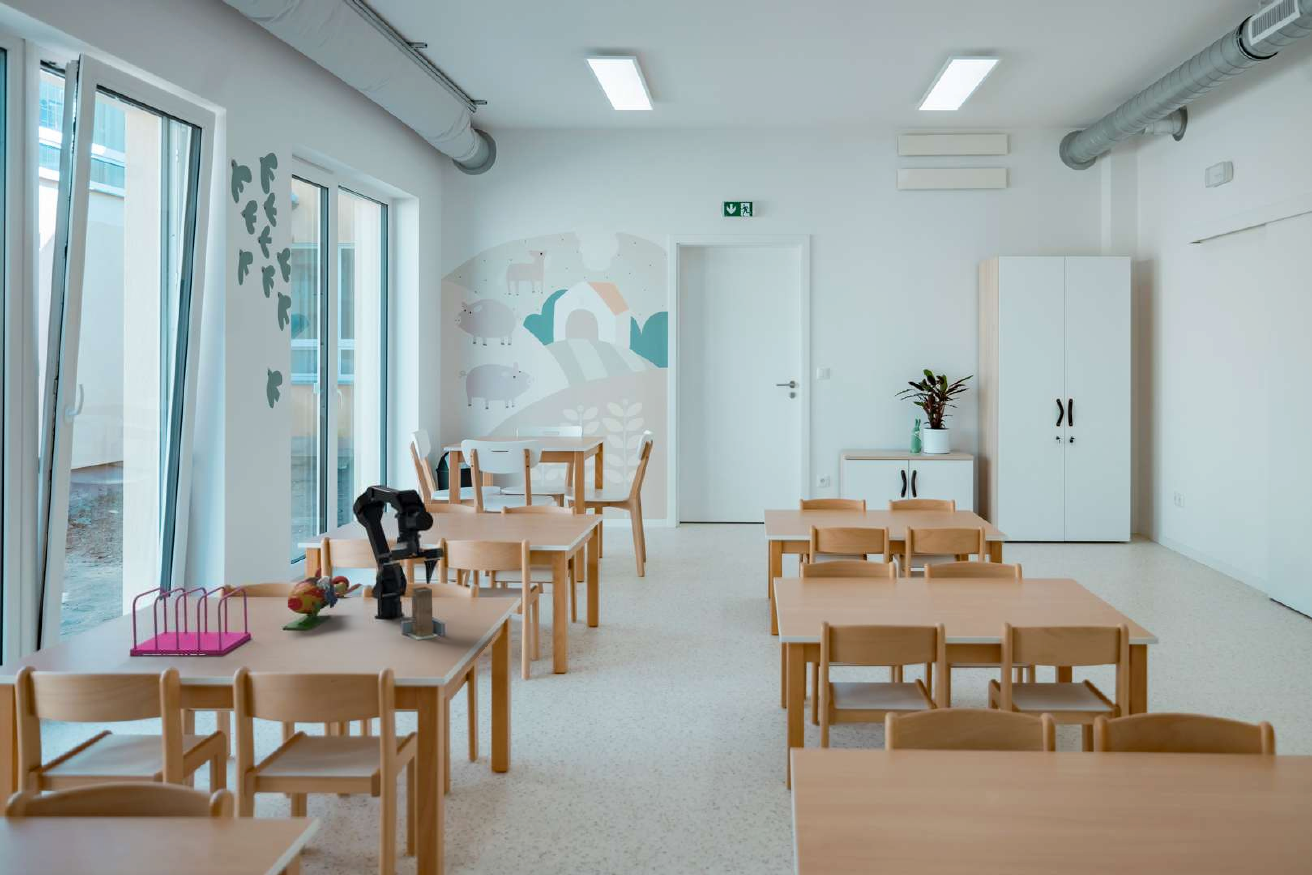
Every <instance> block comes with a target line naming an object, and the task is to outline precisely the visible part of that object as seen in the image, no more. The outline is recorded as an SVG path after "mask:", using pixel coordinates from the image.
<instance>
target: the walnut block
mask: <svg viewBox="0 0 1312 875" xmlns="http://www.w3.org/2000/svg"><path fill="white" fill-rule="evenodd" d="M432 590H433V589H432V588H428V587H426V586H421V587H414V588H412V587H411V614H412V615H411V617H412V619H411V620H412V624H413V634H414V635H416V636H418V637H424V636H430V635H433V633H434V632H433V617H434V616H433V591H432Z"/></svg>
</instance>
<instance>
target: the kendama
mask: <svg viewBox="0 0 1312 875" xmlns="http://www.w3.org/2000/svg"><path fill="white" fill-rule="evenodd" d="M332 584H333V585H334V587H336V588H337V589H338V590H339V593H340V595H338V596H337V598H338V597H341V598H342V597H343V596H345V594H346V592H347V591H348V590H349V587H350V581H349V578H347V577H346V576H344V575H338V576H335V577H334V578H333V579H332Z"/></svg>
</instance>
